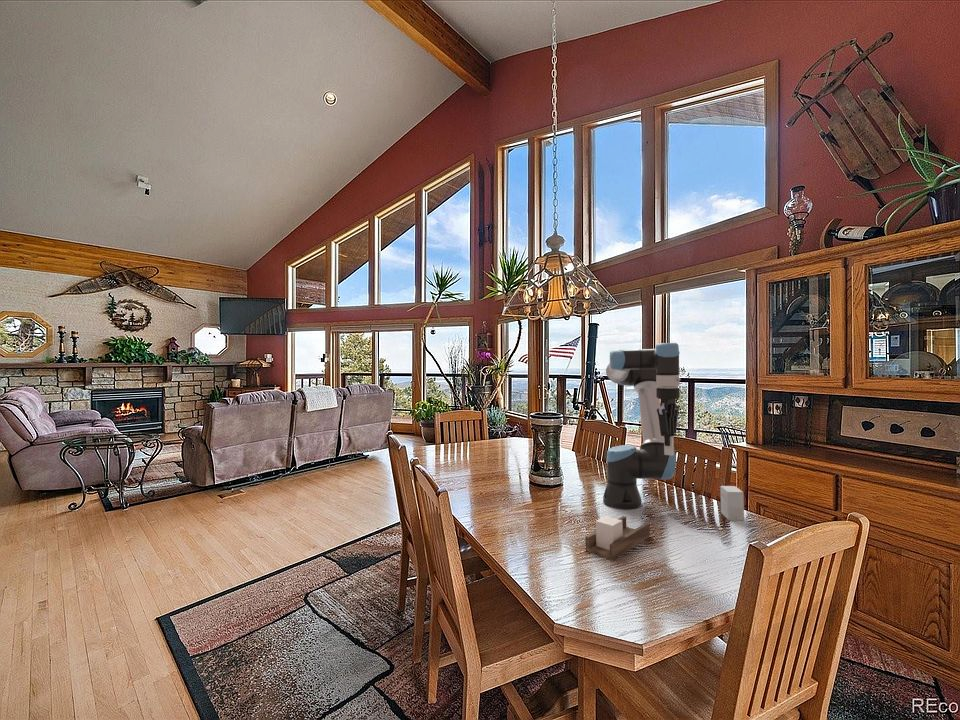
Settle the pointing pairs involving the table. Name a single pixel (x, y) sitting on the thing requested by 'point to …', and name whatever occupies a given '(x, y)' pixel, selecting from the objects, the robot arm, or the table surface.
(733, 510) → the small box
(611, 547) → the chute
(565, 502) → the table surface
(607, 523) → the block
